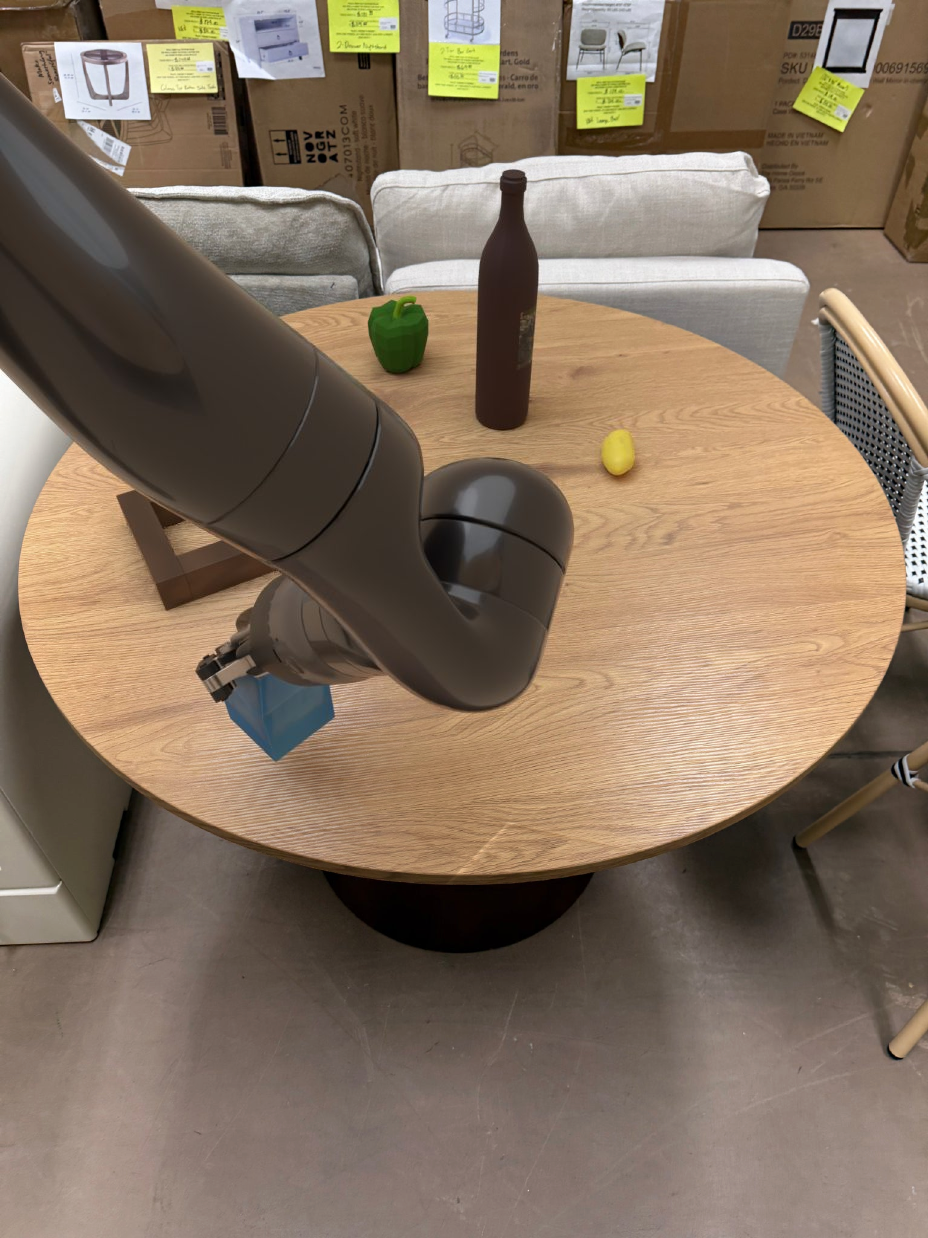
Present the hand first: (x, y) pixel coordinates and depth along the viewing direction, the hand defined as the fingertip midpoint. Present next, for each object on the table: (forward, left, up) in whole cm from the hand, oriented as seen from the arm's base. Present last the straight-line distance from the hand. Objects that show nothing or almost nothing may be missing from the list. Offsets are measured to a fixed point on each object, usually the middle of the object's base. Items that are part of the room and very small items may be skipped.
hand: (251, 642), depth 63 cm
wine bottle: (+45, +34, -15) cm, 58 cm away
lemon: (+52, +18, -15) cm, 57 cm away
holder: (+4, +29, -14) cm, 33 cm away
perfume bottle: (+1, -2, -8) cm, 8 cm away
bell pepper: (+39, +52, -15) cm, 67 cm away
